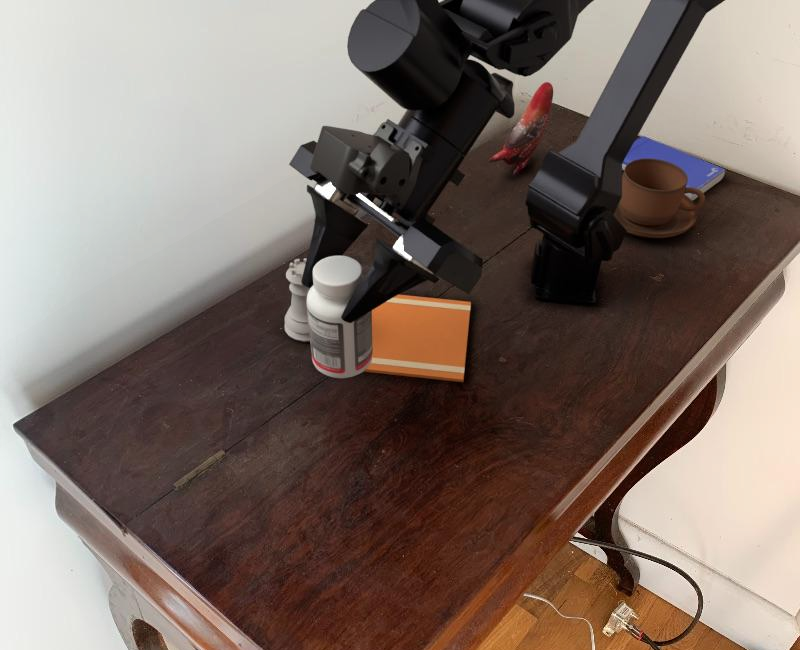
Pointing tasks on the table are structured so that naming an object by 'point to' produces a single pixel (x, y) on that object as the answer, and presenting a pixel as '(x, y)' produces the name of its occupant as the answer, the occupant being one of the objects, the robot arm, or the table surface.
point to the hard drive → (677, 163)
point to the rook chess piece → (297, 304)
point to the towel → (420, 337)
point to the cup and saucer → (656, 199)
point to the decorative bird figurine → (527, 130)
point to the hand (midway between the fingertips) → (324, 302)
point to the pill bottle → (337, 319)
